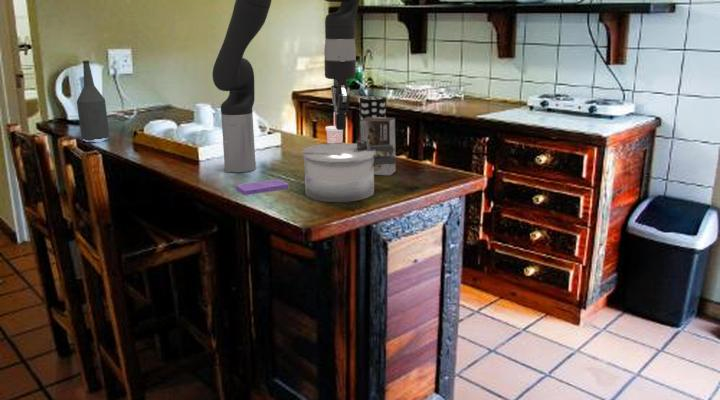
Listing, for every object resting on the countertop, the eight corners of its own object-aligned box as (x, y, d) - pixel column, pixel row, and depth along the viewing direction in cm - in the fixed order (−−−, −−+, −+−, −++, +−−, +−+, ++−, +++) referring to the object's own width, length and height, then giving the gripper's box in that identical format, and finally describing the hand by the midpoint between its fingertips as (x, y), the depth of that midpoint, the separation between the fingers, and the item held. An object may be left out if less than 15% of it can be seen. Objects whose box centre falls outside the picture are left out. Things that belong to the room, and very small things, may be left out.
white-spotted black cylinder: (359, 158, 204) (358, 96, 198) (384, 157, 205) (384, 96, 199) (361, 163, 196) (360, 100, 190) (387, 163, 197) (387, 99, 191)
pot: (310, 204, 154) (308, 164, 151) (301, 185, 171) (300, 150, 168) (403, 197, 159) (404, 159, 156) (386, 180, 176) (386, 145, 173)
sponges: (289, 190, 169) (288, 183, 168) (244, 197, 163) (243, 190, 162) (279, 184, 174) (279, 178, 174) (235, 190, 169) (235, 184, 168)
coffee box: (396, 171, 186) (396, 117, 182) (390, 176, 181) (390, 120, 176) (367, 169, 189) (367, 116, 185) (360, 173, 183) (359, 119, 179)
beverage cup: (323, 154, 210) (322, 113, 206) (330, 151, 215) (329, 110, 211) (339, 155, 208) (338, 113, 204) (347, 152, 213) (346, 111, 209)
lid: (307, 165, 150) (306, 151, 149) (298, 149, 169) (297, 137, 168) (401, 160, 155) (401, 146, 154) (382, 145, 173) (382, 133, 172)
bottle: (76, 141, 237) (65, 61, 229) (98, 137, 245) (88, 59, 237) (93, 144, 232) (82, 61, 223) (115, 139, 240) (106, 60, 231)
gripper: (320, 56, 156) (322, 125, 161) (328, 60, 144) (329, 134, 148) (350, 56, 157) (350, 124, 162) (360, 59, 145) (360, 133, 150)
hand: (340, 129), depth 155 cm, fingers closed
